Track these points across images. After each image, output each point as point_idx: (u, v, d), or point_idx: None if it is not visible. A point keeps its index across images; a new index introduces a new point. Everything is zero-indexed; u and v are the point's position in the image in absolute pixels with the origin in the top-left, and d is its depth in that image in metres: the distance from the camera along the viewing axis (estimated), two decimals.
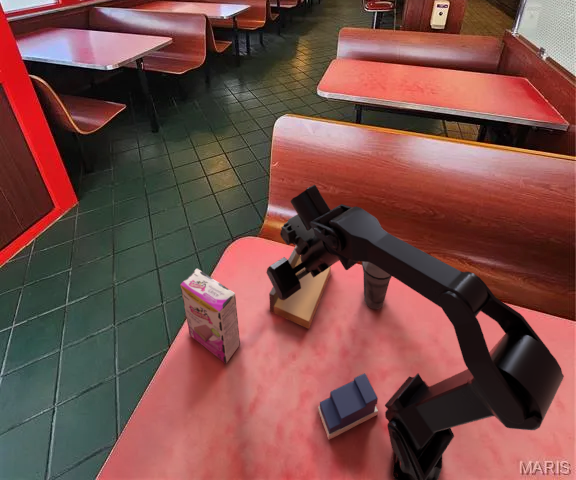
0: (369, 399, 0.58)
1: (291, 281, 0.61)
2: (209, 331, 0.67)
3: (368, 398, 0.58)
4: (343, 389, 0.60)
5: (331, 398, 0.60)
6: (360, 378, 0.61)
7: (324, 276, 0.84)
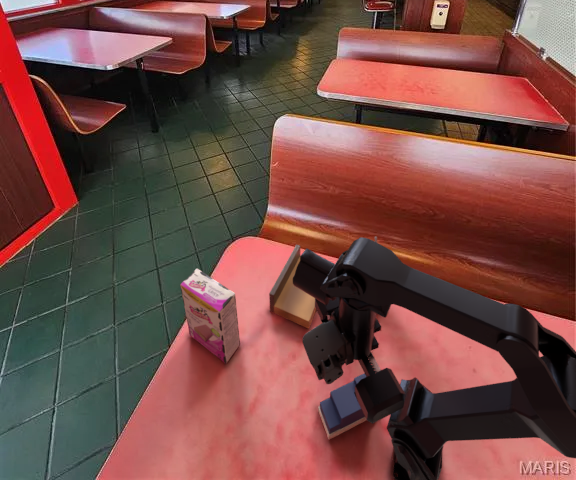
0: None
1: (386, 380, 0.47)
2: (209, 331, 0.67)
3: None
4: (343, 389, 0.60)
5: (331, 398, 0.60)
6: (360, 378, 0.61)
7: None
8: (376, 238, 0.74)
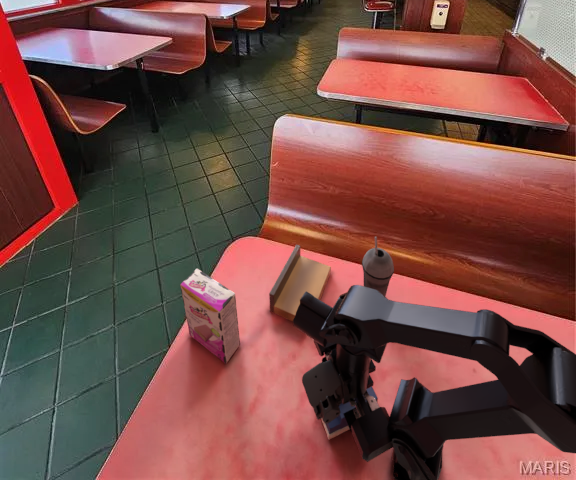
0: None
1: (380, 419, 0.51)
2: (209, 331, 0.67)
3: None
4: None
5: None
6: None
7: (324, 276, 0.84)
8: (376, 238, 0.74)
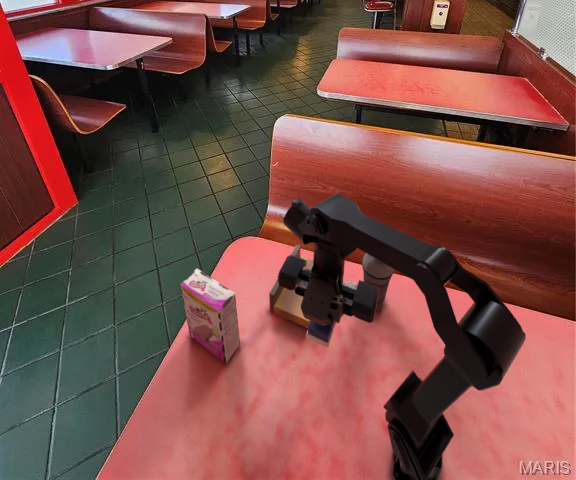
0: None
1: (365, 287, 0.61)
2: (209, 331, 0.67)
3: None
4: None
5: None
6: None
7: None
8: None
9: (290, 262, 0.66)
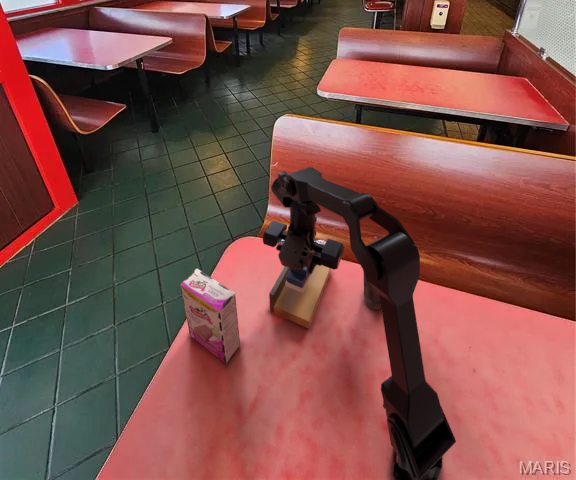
0: None
1: (332, 243, 0.75)
2: (209, 331, 0.67)
3: None
4: None
5: None
6: None
7: (324, 276, 0.84)
8: (376, 238, 0.74)
9: (273, 226, 0.80)
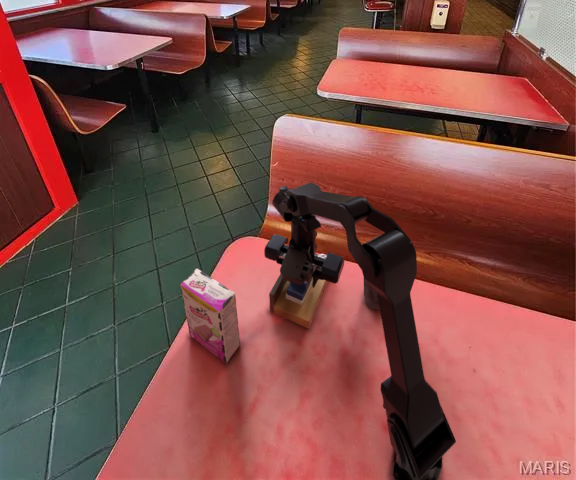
0: None
1: (332, 257, 0.77)
2: (209, 331, 0.67)
3: None
4: None
5: None
6: None
7: None
8: None
9: (274, 239, 0.82)
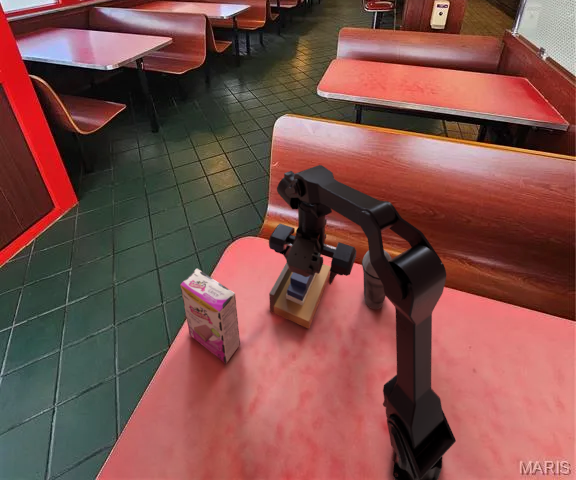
0: None
1: (343, 247, 0.70)
2: (209, 331, 0.67)
3: None
4: None
5: (292, 281, 0.79)
6: None
7: (324, 276, 0.84)
8: None
9: (280, 229, 0.75)
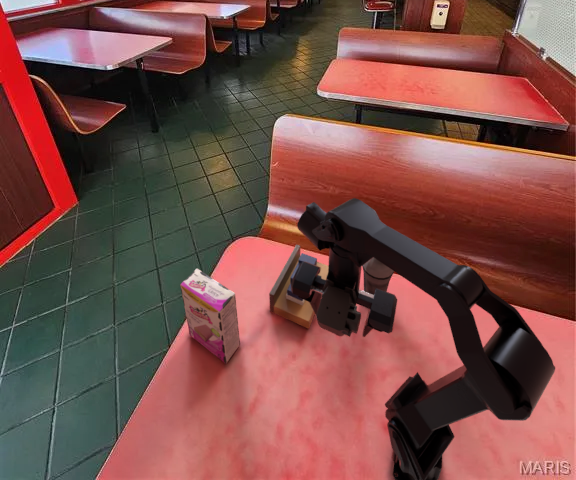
0: (313, 262, 0.82)
1: (382, 295, 0.58)
2: (209, 331, 0.67)
3: (312, 262, 0.82)
4: (296, 270, 0.81)
5: None
6: (301, 257, 0.84)
7: (324, 276, 0.84)
8: None
9: (304, 269, 0.64)
